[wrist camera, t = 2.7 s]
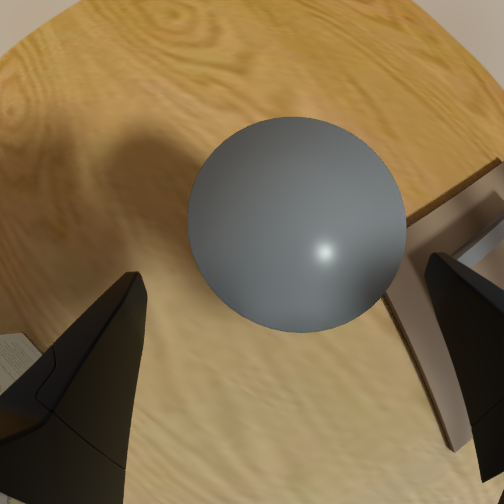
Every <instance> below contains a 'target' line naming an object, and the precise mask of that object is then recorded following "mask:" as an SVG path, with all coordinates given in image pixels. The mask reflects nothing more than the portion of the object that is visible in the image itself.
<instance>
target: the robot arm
mask: <svg viewBox="0 0 504 504" xmlns="http://www.w3.org/2000/svg"><path fill="white" fill-rule="evenodd" d="M424 279H425V283H426V286H427V289H428V292H429V295H430V299H431V302H432V306H433V309H434V313H435V316H436V319H437V322H438V324H439V327H440V330H441V332H442V335H443V338H444V341H445V343H446V346H447V349H448V352H449V355H450V358H451V361H452V364H453V367H454V370H455V373H456V376H457V379H458V382H459V386H460V389H461V393H462V396H463V399H464V403H465V407H466V410H467V414H468V418H469V422H470V426H471V427H472V428H471V431H472V435H473V439H474V444H475V449H476V454H477V459H478V464H479V469H480V475H481V480H482V483H484V482H486V481H488V480H490V479H491V478H493V477H495V476H497V475H499V474H500V473H502V472H504V290H503V289H501V288H500V287H498V286H497V285H495V284H494V283H492V282H491V281H489V280H488V279H486V278H485V277H483V276H481V275H480V274H478V273H477V272H475V271H474V270H472V269H471V268H469V267H467V266H466V265H464V264H463V263H461V262H459V261H458V260H456V259H454V258H453V257H451V256H450V255H448V254H446V253H445V252H442V251H440V252H433V253H431V254H430V257H429V260H428V263H427V265H426V268H425V271H424ZM146 309H147V291H146V288H145V285H144V283H143V280H142V276H141V274H140V273H139V272H137V271H136V272H126V273H125V274H123V275H122V276H121V277H120V278H119V279H118V280H117V281H116V282H115V283H114V284H113V285H112V286H111V287H110V288H109V289H108V290H106V291H105V292H104V293H103V294H102V295H101V296H100V297H99V298H98V299H97V300H96V301H95V302H94V303H93V304H92V305H91V306H90V307H89V308H88V309H87V310H86V311H85V312H84V313H83V314H82V315H81V316H80V317H79V318H78V319H77V320H76V321H75V322H74V323H73V324H72V325H71V326H70V327H69V328H68V329H67V330H66V331H65V332H64V333H63V334H62V335H61V336H60V337H59V338H58V339H57V340H56V341H55V342H54V343H53V345H51V346H50V347H49V348H48V349H47V351H46V352H45V353H44V354H43V355H42V356H41V357H40V358H39V359H38V360H37V361H36V362H35V363H34V364H33V365H32V366H31V367H30V368H29V369H28V370H27V371H25V372H24V373H23V374H22V375H21V376H20V377H19V378H18V379H17V380H16V381H15V382H14V383H13V384H12V385H10V386H9V387H8V388H7V389H6V390H5V391H4V392H3V393H2V394H1V395H0V504H123V497H124V484H125V472H126V471H125V469H126V461H127V451H128V443H129V434H130V426H131V419H132V412H133V405H134V398H135V392H136V385H137V379H138V373H139V367H140V362H141V356H142V351H143V344H144V334H145V321H146ZM498 504H504V490H503V492H502V495H501V497H500V500H499V502H498Z"/></svg>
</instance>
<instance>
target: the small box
mask: <svg viewBox="0 0 504 504" xmlns="http://www.w3.org/2000/svg"><path fill="white" fill-rule="evenodd" d="M41 356H42V354H41V353H40V352H39V351H38V350H37V348H36V347H35V346H34V345H33V344H32V343H31V342H30V341H29V340H28V339H27V338H26V337H25V335H24V334H23V333H12V334H2V335H0V395H1V394H2V393H3V392H4V391H5V390H6V389H7V388H8V387H9V386H10V385H12V384H13V383H14V382H15V381H16V380H17V379H18V378H19V377H20V376H21V375H22V374H23V373H24V372H25V371H27V370H28V369H29V368H30V367H31V366H32V365H33V364H34V363H35V362H36V361H37V360H38V359H39V358H40V357H41Z"/></svg>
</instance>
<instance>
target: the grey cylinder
mask: <svg viewBox="0 0 504 504" xmlns="http://www.w3.org/2000/svg"><path fill="white" fill-rule="evenodd" d="M187 228H188V236H189V243H190V246H191V250H192V253H193V257H194V259H195V261H196V264H197V266H198V268H199V271H200V272H201V274H202V276H203V277H204V279H205V280H206V282H207V284H208V285H209V286H210V287H211V289H212V290H213V291H214V292H215V294H216V295H217V296H218V297H219V298H220V299H221V300H222V301H223V302H224V303H225V304H227V305H228V306H229V307H230V308H231V309H233V310H234V311H236V312H237V313H238V314H240V315H241V316H243V317H245V318H247V319H249V320H251V321H253V322H254V323H257V324H259V325H262V326H265V327H268V328H271V329H275V330H280V331H285V332H296V333H307V332H318V331H323V330H328V329H332V328H335V327H337V326H340V325H343V324H346V323H348V322H349V321H351V320H353V319H355V318H357V317H359V316H360V315H361V314H363V313H364V312H366V311H367V310H368V309H370V308H371V307H372V306H373V305H374V304H375V303H376V302H377V301H378V300H379V299H380V298H381V297H382V296H383V294H384V293H385V292H386V290H387V289H388V288H389V286H390V285H391V283H392V281H393V279H394V278H395V276H396V274H397V271H398V269H399V266H400V264H401V261H402V258H403V254H404V250H405V243H406V215H405V208H404V204H403V200H402V197H401V193H400V191H399V189H398V186H397V184H396V181H395V180H394V178H393V176H392V174H391V172H390V171H389V169H388V168H387V166H386V165H385V164H384V162H383V161H382V159H381V158H380V157H379V156H378V155H377V154H376V153H375V152H374V151H373V150H372V149H371V148H370V147H369V146H368V145H367V144H366V143H364V142H363V141H362V140H361V139H359V138H358V137H356V136H355V135H353V134H352V133H350V132H348V131H346V130H344V129H342V128H340V127H338V126H336V125H333V124H330V123H328V122H325V121H321V120H317V119H312V118H304V117H282V118H273V119H269V120H265V121H261V122H258V123H255V124H253V125H250V126H247V127H246V128H244V129H242V130H240V131H238V132H236V133H235V134H233V135H232V136H230V137H229V138H228V139H226V140H225V141H224V142H223V143H222V144H221V145H219V146H218V147H217V148H216V149H215V150H214V151H213V153H212V154H211V155H210V156H209V158H208V159H207V160H206V162H205V163H204V165H203V166H202V168H201V170H200V171H199V173H198V175H197V178H196V180H195V182H194V184H193V188H192V191H191V195H190V198H189V205H188V212H187Z"/></svg>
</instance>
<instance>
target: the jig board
mask: <svg viewBox="0 0 504 504" xmlns="http://www.w3.org/2000/svg"><path fill="white" fill-rule="evenodd" d="M440 251H442V252H445V253H446V254H448V255H450V256H451V257H453V258H454V259H456V260H458V261H459V262H461V263H463V264H464V265H466V266H467V267H469V268H471V269H472V270H474V271H475V272H477V273H478V274H480V275H481V276H483V277H485V278H486V279H488V280H489V281H491V282H492V283H494V284H495V285H497V286H498V287H500V288H501V289H503V290H504V161H503V162H502V163H501V164H499V165H498V166H497V167H495V168H494V169H492V170H491V171H490V172H488V173H487V174H485V175H484V176H483V177H481V178H480V179H478V180H477V181H476V182H474V183H473V184H471V185H470V186H468V187H467V188H466V189H464V190H463V191H461V192H460V193H458V194H457V195H455V196H454V197H453V198H451V199H450V200H448V201H447V202H445V203H444V204H442V205H441V206H439V207H438V208H436V209H435V210H433V211H432V212H430V213H429V214H427V215H426V216H424V217H423V218H421V219H420V220H418V221H416V222H415V223H413V224H412V225H410V226H409V227H407V228H406V243H405V250H404V254H403V258H402V261H401V264H400V266H399V269H398V271H397V274H396V276H395V278H394V279H393V281H392V283H391V285H390V286H389V288H388V289H387V290H386V292H385V293H384V296H385V298H386V300H387V302H388V304H389V306H390V308H391V310H392V312H393V314H394V316H395V318H396V320H397V322H398V325H399V327H400V329H401V331H402V333H403V335H404V337H405V339H406V341H407V344H408V346H409V348H410V350H411V352H412V355H413V357H414V359H415V361H416V364H417V366H418V368H419V370H420V373H421V375H422V377H423V380H424V382H425V384H426V387H427V389H428V392H429V394H430V396H431V399H432V401H433V404H434V406H435V409H436V412H437V414H438V417H439V419H440V422H441V425H442V427H443V430H444V433H445V435H446V438H447V441H448V444H449V447H450V450H451V451H453V452H454V453H455V452H457V451H458V450H459V449H460V448H461V447H462V446H464V445H465V444H466V443H467V442H468V441H469V440H470V439H472V438H473V435H472V431H471V428H472V427H471V426H470V422H469V418H468V414H467V410H466V407H465V403H464V399H463V396H462V393H461V389H460V386H459V382H458V379H457V376H456V373H455V370H454V367H453V364H452V361H451V358H450V355H449V352H448V349H447V346H446V343H445V341H444V338H443V335H442V332H441V330H440V327H439V324H438V322H437V319H436V316H435V313H434V309H433V306H432V302H431V299H430V295H429V292H428V289H427V286H426V283H425V279H424V271H425V268H426V265H427V263H428V260H429V257H430V254H431V253H433V252H440Z"/></svg>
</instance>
